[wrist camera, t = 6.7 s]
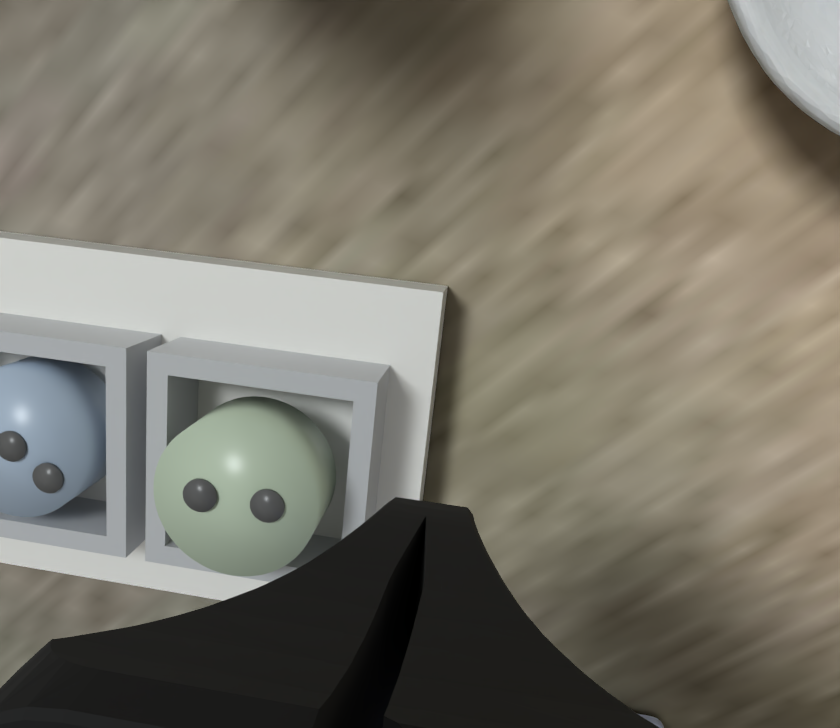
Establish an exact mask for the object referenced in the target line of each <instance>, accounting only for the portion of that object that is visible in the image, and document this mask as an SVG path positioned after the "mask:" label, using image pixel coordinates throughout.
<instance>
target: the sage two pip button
mask: <svg viewBox="0 0 840 728" xmlns="http://www.w3.org/2000/svg"><path fill="white" fill-rule="evenodd" d="M335 485H336V467H335V461H334V457H333V453H332V451H331V448H330V446H329V443H328V441H327V440H326V438H325V436H324V434H323V433H322V432H321V430H320V429H319V428H318V426H317V425H316V424H315V423H314V422H313V421H312V420H311V419H310V418H309V417H307V416H306V415H305V414H304V413H303V412H301V411H300V410H298V409H296V408H295V407H293V406H291V405H289V404H287V403H285V402H282V401H279V400H276V399H272V398H267V397H258V396H250V397H241V398H236V399H233V400H230V401H227V402H225V403H223V404H221V405H219V406H217V407H216V408H214V409H213V410H212V411H210V412H209V413H207V414H206V415H205V416H203V417H202V418H200V419H199V420H198V421H196V422H195V423H194V424H192V425H191V426H189V427H188V428H187V429H185V430H184V431H182V432H181V433H180V434H178V435H177V436H176V437H175V438H174V439H173V440H172V441H171V442H170V443H169V444H168V446H167V447H166V448H165V450H164V452H163V453H162V455H161V457H160V459H159V462H158V464H157V467H156V471H155V475H154V485H153V490H154V500H155V506H156V509H157V512H158V516H159V518H160V520H161V523H162V525H163V527H164V529H165V530H166V532H167V533H168V535H169V536H170V538H171V539H172V540H173V542H174V543H175V544H176V545H177V546H178V547H179V548H180V549H181V550H182V551H183V552H184V553H185V554H186V555H188V556H189V557H190V558H191V559H193V560H194V561H196V562H198V563H199V564H201V565H203V566H205V567H207V568H209V569H211V570H214V571H217V572H219V573H223V574H227V575H233V576H257V575H263V574H267V573H270V572H273V571H275V570H278V569H280V568H282V567H284V566H285V565H287V564H288V563H290V562H291V561H292V560H293V559H295V558H296V557H297V556H298V555H299V554H300V553H301V551H302V550H303V549H304V548H305V546H306V545H307V543H308V542H309V540H310V538H311V536H312V535H313V533H314V531H315V530H316V528H317V526H318V524H319V523H320V521H321V519H322V517H323V516H324V514H325V512H326V511H327V509H328V507H329V505H330V503H331V501H332V498H333V494H334V491H335Z"/></svg>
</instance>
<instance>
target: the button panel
mask: <svg viewBox="0 0 840 728" xmlns="http://www.w3.org/2000/svg"><path fill="white" fill-rule="evenodd" d="M447 288H448V286H445V285H436V284H428V283H420V282H412V281H404V280H396V279H388V278H379V277H371V276H363V275H355V274H347V273H339V272H331V271H322V270H314V269H306V268H298V267H290V266H282V265H274V264H265V263H257V262H249V261H241V260H233V259H225V258H217V257H208V256H200V255H192V254H184V253H176V252H168V251H160V250H151V249H143V248H135V247H127V246H119V245H111V244H103V243H94V242H86V241H78V240H70V239H62V238H54V237H46V236H37V235H29V234H21V233H13V232H5V231H0V366H3V365H6V364H9V363H12V362H15V361H18V360H21V359H24V358H27V357H31V356H35V357H42V358H49V359H56V360H63V361H70V362H77V363H80V364H82V365H84V366H85V367H87V368H88V369H90V370H91V371H92V372H93V373H95V374H96V375H97V376H98V377H99V378H100V379H101V380H102V381H103V382H104V383H105V385H106V476H105V477H103V478H102V479H100V480H99V481H98V482H96V483H95V484H93V485H92V486H90V487H89V488H87V489H86V490H85V491H83V492H82V493H80V494H79V495H77V496H76V497H74V498H73V499H72V500H70V501H69V502H67V503H66V504H64V505H63V506H61V507H60V508H59V509H57V510H55V511H53V512H51V513H48V514H45V515H41V516H35V517H20V516H13V515H8V514H5V513H2V512H0V562H1V563H7V564H12V565H18V566H24V567H30V568H36V569H42V570H47V571H53V572H59V573H65V574H71V575H77V576H83V577H88V578H94V579H100V580H106V581H112V582H118V583H123V584H129V585H135V586H141V587H147V588H153V589H159V590H164V591H170V592H176V593H182V594H188V595H194V596H199V597H205V598H211V599H217V600H223V601H224V600H227V599H229V598H232V597H235V596H237V595H240V594H243V593H245V592H248V591H251V590H253V589H256V588H258V587H260V586H263V585H265V584H267V583H269V582H271V581H273V580H275V579H277V578H279V577H282V576H284V575H286V574H288V573H290V572H291V571H293V570H295V569H297V568H299V567H301V566H302V565H304V564H306V563H308V562H309V561H311V560H313V559H314V558H316V557H317V556H319V555H320V554H322V553H323V552H325V551H326V550H328V549H329V548H331V547H332V546H334V545H335V544H337V543H338V542H339V541H341V540H342V539H343V538H345V537H346V536H347V535H349V534H350V533H351V532H353V531H354V530H355V529H357V528H358V527H359V526H360V525H362V524H363V523H364V522H365V521H366V520H368V519H369V518H370V517H371V516H373V515H374V514H375V513H376V512H377V511H378V510H380V509H381V508H382V507H383V506H384V505H386V504H387V503H388V502H389V501H391V500H392V499H394V498H395V497H399V498H406V499H413V500H420V501H423V494H424V485H425V477H426V468H427V459H428V451H429V442H430V434H431V425H432V417H433V408H434V400H435V391H436V382H437V374H438V365H439V357H440V348H441V340H442V331H443V322H444V314H445V305H446V297H447ZM250 396H258V397H267V398H272V399H276V400H279V401H282V402H285V403H287V404H289V405H291V406H293V407H295V408H296V409H298V410H300V411H301V412H303V413H304V414H305V415H306V416H307V417H309V418H310V419H311V420H312V421H313V422H314V423H315V424H316V425H317V426H318V428H319V429H320V430H321V432H322V433H323V434H324V436H325V438H326V440H327V441H328V443H329V446H330V448H331V451H332V453H333V457H334V461H335V467H336V485H335V491H334V494H333V498H332V501H331V503H330V505H329V507H328V509H327V511H326V512H325V514H324V516H323V517H322V519H321V521H320V523H319V524H318V526H317V528H316V530H315V531H314V533H313V535H312V536H311V538H310V540H309V542H308V543H307V545H306V546H305V548H304V549H303V550H302V551H301V553H300V554H299V555H298V556H297V557H296V558H295V559H293V560H292V561H291V562H290V563H288V564H287V565H285V566H284V567H282V568H280V569H278V570H275V571H273V572H270V573H267V574H263V575H257V576H233V575H227V574H223V573H219V572H217V571H214V570H211V569H209V568H207V567H205V566H203V565H201V564H199V563H198V562H196V561H194V560H193V559H191V558H190V557H189V556H188V555H186V554H185V553H184V552H183V551H182V550H181V549H180V548H179V547H178V546H177V545H176V544H175V543H174V542H173V540H172V539H171V538H170V536H169V535H168V533H167V532H166V530H165V529H164V527H163V525H162V523H161V520H160V518H159V516H158V512H157V509H156V506H155V500H154V490H153V485H154V475H155V471H156V467H157V464H158V462H159V459H160V457H161V455H162V453H163V452H164V450H165V448H166V447H167V446H168V444H169V443H170V442H171V441H172V440H173V439H174V438H175V437H176V436H177V435H178V434H180V433H181V432H182V431H184V430H185V429H187V428H188V427H189V426H191V425H192V424H194V423H195V422H196V421H198V420H199V419H200V418H202V417H203V416H205V415H206V414H207V413H209V412H210V411H212V410H213V409H214V408H216V407H217V406H219V405H221V404H223V403H225V402H227V401H230V400H233V399H236V398H241V397H250Z"/></svg>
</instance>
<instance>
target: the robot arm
mask: <svg viewBox="0 0 840 728" xmlns="http://www.w3.org/2000/svg"><path fill="white" fill-rule="evenodd" d="M0 728H664V726H663V724H662V722H661V721H660V720H659V719H657V718H655V717H652V716H648V715H642V714H637V713H635V712H634V711H632V710H631V709H630V708H628V707H627V706H626V705H624V704H623V703H622V702H620V701H619V700H617V699H616V698H615V697H613V696H612V695H611V694H609V693H608V692H607V691H605V690H604V689H603V688H601V687H600V686H599V685H598V684H596V683H595V682H594V681H593V680H591V679H590V678H589V677H588V676H587V675H585V674H584V673H583V672H582V671H581V670H579V669H578V668H577V667H576V666H575V665H574V664H573V663H572V662H571V661H570V660H569V659H568V658H567V657H565V656H564V655H563V654H562V653H561V652H560V651H559V650H558V649H557V648H556V647H555V646H554V645H553V644H552V643H551V642H550V641H549V640H548V639H547V638H546V637H545V636H544V635H543V634H542V633H541V632H540V630H539V629H538V628H537V627H536V626H535V625H534V623H533V622H532V621H531V620H530V619H529V618H528V616H527V615H526V614H525V613H524V611H523V610H522V608H521V607H520V606H519V604H518V603H517V601H516V600H515V598H514V597H513V595H512V594H511V592H510V591H509V589H508V588H507V586H506V585H505V583H504V582H503V580H502V578H501V577H500V575H499V573H498V571H497V570H496V568H495V566H494V564H493V562H492V560H491V559H490V557H489V555H488V553H487V551H486V549H485V547H484V545H483V542H482V540H481V538H480V535H479V533H478V530H477V528H476V525H475V522H474V518H473V514H472V513H471V512H470V510H469V509H468V508H467V507H460V506H453V505H446V504H440V503H433V502H426V501H420V500H413V499H406V498H399V497H395V498H394V499H392V500H391V501H389V502H388V503H387V504H386V505H384V506H383V507H382V508H381V509H380V510H378V511H377V512H376V513H375V514H374V515H373V516H371V517H370V518H369V519H368V520H366V521H365V522H364V523H363V524H362V525H360V526H359V527H358V528H357V529H355V530H354V531H353V532H351V533H350V534H349V535H347V536H346V537H345V538H343V539H342V540H341V541H339V542H338V543H337V544H335V545H334V546H332V547H331V548H329V549H328V550H326V551H325V552H323V553H322V554H320V555H319V556H317V557H316V558H314V559H313V560H311V561H309V562H308V563H306V564H304V565H302V566H301V567H299V568H297V569H295V570H293V571H291V572H290V573H288V574H286V575H284V576H282V577H279V578H277V579H275V580H273V581H271V582H269V583H267V584H265V585H263V586H260V587H258V588H256V589H253V590H251V591H248V592H245V593H243V594H240V595H237V596H235V597H232V598H229V599H227V600H224V601H221V602H219V603H216V604H214V605H211V606H208V607H205V608H202V609H198V610H195V611H191V612H188V613H185V614H181V615H178V616H174V617H170V618H166V619H162V620H158V621H154V622H150V623H146V624H141V625H137V626H132V627H127V628H121V629H115V630H109V631H103V632H97V633H92V634H86V635H80V636H74V637H67V638H60V639H52V640H51V641H50V642H48V643H47V644H46V645H45V646H44V647H43V648H42V649H41V650H39V651H38V652H37V653H36V654H35V655H34V656H33V657H32V658H31V659H30V660H29V661H28V662H27V663H25V664H24V665H23V666H22V667H21V668H20V669H19V670H18V671H17V672H16V673H15V674H14V675H13V676H12V677H11V678H10V679H9V680H8V681H7V682H6V683H5V684H4V685H3V686H2V687H1V688H0Z"/></svg>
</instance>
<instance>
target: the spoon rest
mask: <svg viewBox="0 0 840 728" xmlns="http://www.w3.org/2000/svg"><path fill="white" fill-rule="evenodd" d="M728 3H729V6H730V8H731V11H732V13H733V15H734V18H735V20H736V22H737V25H738V27H739V29H740V31H741V34H742V36H743V37H744V39H745V41H746V43H747V44H748V46H749V48H750V50H751V52H752V53H753V55H754V56H755V58H756V59H757V61H758V62H759V64H760V66H761V67H762V69H763V70H764V72H765V73H766V74H767V75H768V77H769V78H770V79H771V81H772V82H773V83H774V84H775V85H776V86H777V87H778V88H779V89H780V90H781V91H782V92H783V93H784V94H785V95H786V96H787V97H788V98H789V99H790V100H791V101H792V102H793V103H794V104H795V105H796V106H797V107H798V108H799V109H801V110H802V111H803V112H804V113H806V114H807V115H808V116H810V117H811V118H813V119H814V120H815V121H817V122H818V123H820V124H821V125H823V126H824V127H825V128H827V129H828V130H830V131H832V132H834V133H835V134H837V135H839V136H840V0H728Z"/></svg>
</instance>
